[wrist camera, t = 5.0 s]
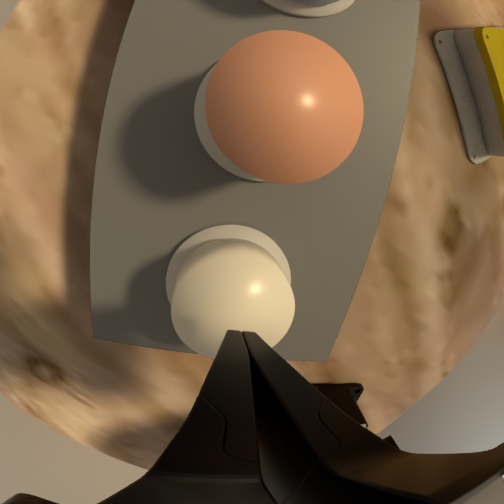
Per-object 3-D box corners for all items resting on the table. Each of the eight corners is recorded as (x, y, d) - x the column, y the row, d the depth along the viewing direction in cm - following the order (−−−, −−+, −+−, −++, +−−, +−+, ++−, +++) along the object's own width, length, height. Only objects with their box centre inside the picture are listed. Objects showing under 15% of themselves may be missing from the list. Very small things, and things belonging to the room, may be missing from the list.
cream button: (269, 338, 13) (277, 364, 12) (170, 327, 12) (167, 354, 11) (295, 247, 12) (309, 266, 10) (182, 229, 11) (178, 247, 9)
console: (309, 329, 18) (328, 364, 15) (108, 305, 16) (91, 341, 13) (392, -14, 11) (424, -31, 8) (187, -72, 8) (186, -106, 5)
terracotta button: (322, 187, 10) (343, 199, 8) (192, 162, 9) (189, 167, 8) (349, 69, 9) (374, 60, 7) (222, 34, 8) (226, 13, 6)
